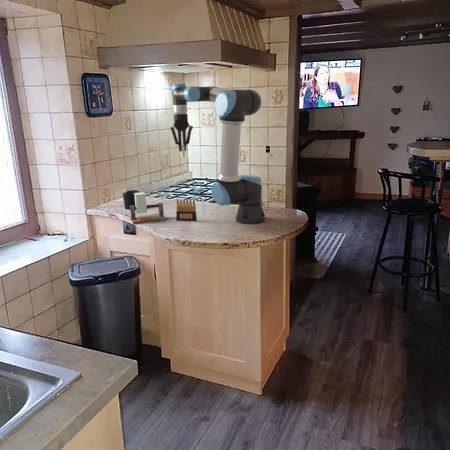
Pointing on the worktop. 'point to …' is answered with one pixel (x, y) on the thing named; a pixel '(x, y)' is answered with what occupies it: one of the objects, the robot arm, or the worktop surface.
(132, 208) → the cord rack
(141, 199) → the sleeve
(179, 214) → the ammunition clip
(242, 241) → the worktop surface
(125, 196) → the pen holder
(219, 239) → the worktop surface
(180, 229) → the worktop surface
